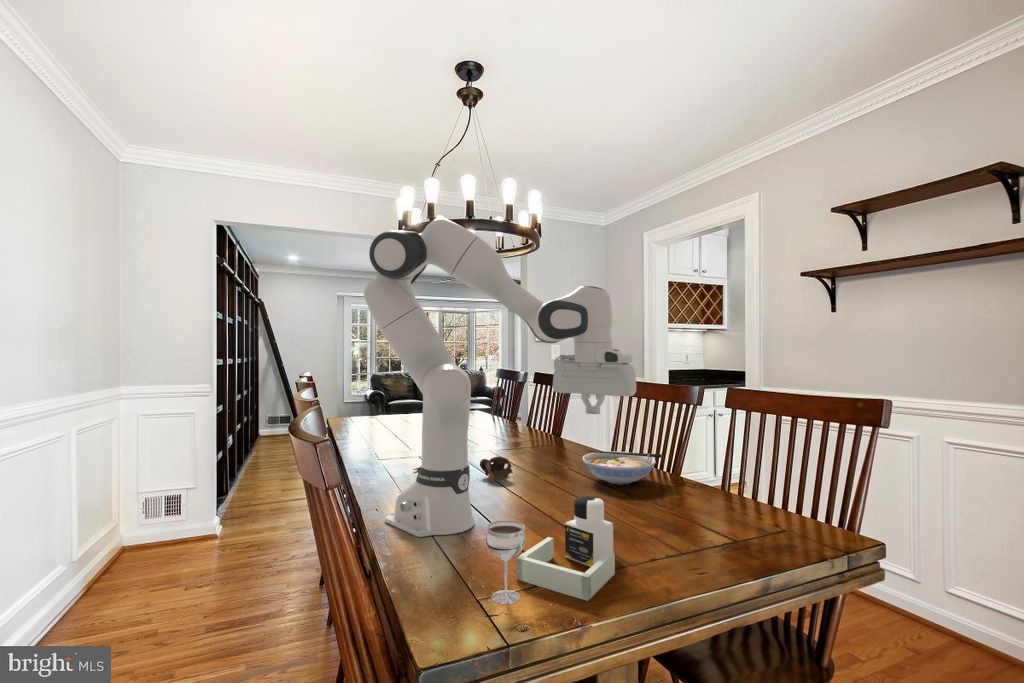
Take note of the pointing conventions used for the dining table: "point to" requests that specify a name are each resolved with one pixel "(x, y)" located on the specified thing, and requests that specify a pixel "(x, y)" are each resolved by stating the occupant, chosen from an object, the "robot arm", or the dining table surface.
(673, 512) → the dining table surface
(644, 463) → the ramen bowl
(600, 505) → the medicine bottle
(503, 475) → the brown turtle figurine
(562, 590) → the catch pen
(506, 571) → the wineglass
